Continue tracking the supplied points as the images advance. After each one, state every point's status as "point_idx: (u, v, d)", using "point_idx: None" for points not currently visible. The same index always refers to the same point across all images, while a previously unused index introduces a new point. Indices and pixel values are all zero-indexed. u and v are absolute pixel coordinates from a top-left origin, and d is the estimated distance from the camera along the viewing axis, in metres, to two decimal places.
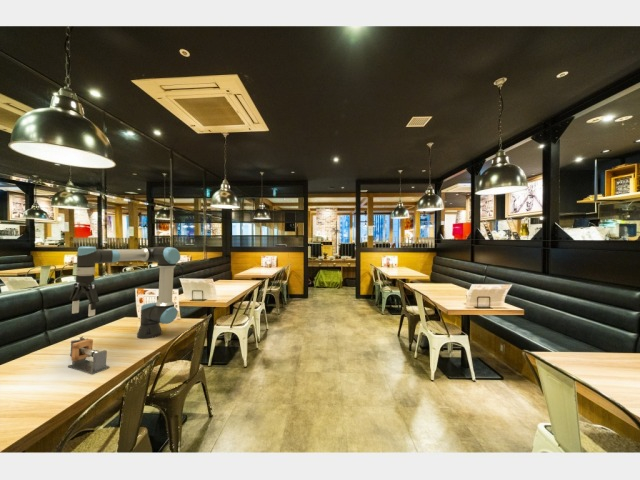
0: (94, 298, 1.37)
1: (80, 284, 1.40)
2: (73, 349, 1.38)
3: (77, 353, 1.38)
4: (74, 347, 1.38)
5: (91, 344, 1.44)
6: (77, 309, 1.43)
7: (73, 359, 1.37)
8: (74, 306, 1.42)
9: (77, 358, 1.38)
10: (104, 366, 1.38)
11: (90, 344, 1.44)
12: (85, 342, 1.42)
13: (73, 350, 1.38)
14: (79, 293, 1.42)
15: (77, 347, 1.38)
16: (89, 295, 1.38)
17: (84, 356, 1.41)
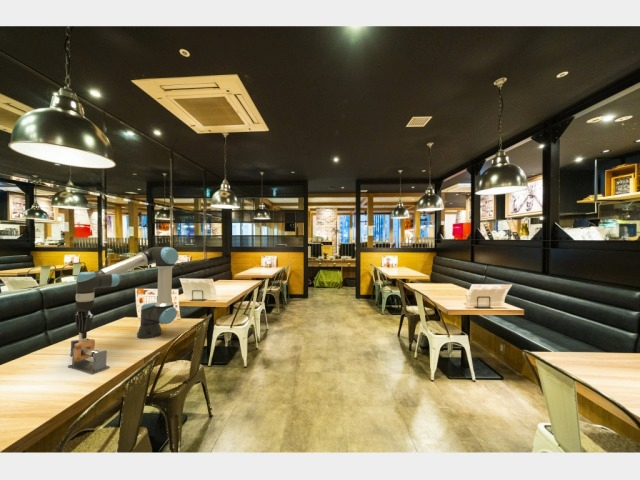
0: (86, 328, 1.40)
1: (79, 308, 1.42)
2: (75, 350, 1.37)
3: (79, 354, 1.38)
4: (76, 347, 1.37)
5: (93, 344, 1.44)
6: (84, 340, 1.42)
7: (75, 360, 1.37)
8: None
9: (79, 359, 1.38)
10: (104, 366, 1.38)
11: (92, 344, 1.43)
12: (87, 342, 1.41)
13: (75, 351, 1.37)
14: None
15: (79, 347, 1.38)
16: (84, 323, 1.41)
17: (86, 357, 1.41)
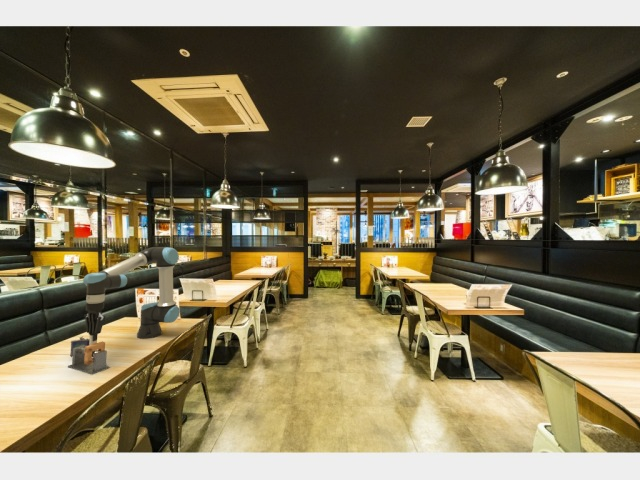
0: (97, 330, 1.37)
1: (89, 310, 1.39)
2: (86, 352, 1.34)
3: (90, 357, 1.35)
4: (87, 350, 1.34)
5: (103, 347, 1.41)
6: (94, 343, 1.39)
7: (86, 362, 1.34)
8: None
9: (90, 361, 1.35)
10: (104, 366, 1.38)
11: (103, 347, 1.40)
12: (98, 345, 1.38)
13: (86, 353, 1.34)
14: None
15: (90, 350, 1.35)
16: (94, 326, 1.38)
17: None
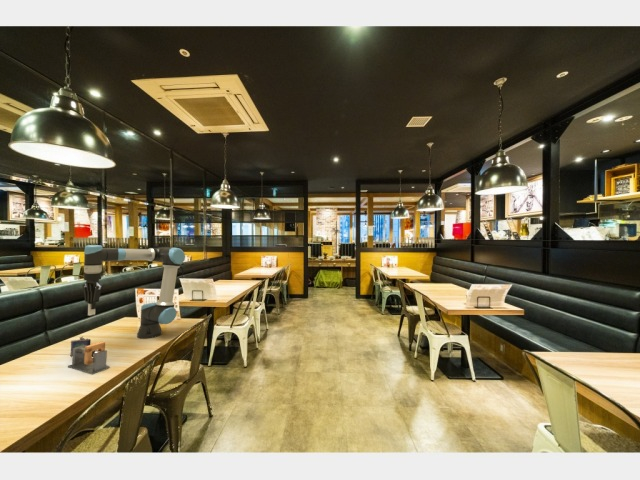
0: (95, 299, 1.44)
1: (87, 280, 1.46)
2: (86, 352, 1.34)
3: (90, 357, 1.35)
4: (87, 350, 1.34)
5: (104, 347, 1.41)
6: None
7: (86, 362, 1.34)
8: None
9: (90, 361, 1.35)
10: (104, 366, 1.38)
11: (103, 347, 1.40)
12: (98, 345, 1.38)
13: (86, 353, 1.34)
14: None
15: (90, 350, 1.35)
16: (92, 295, 1.45)
17: None
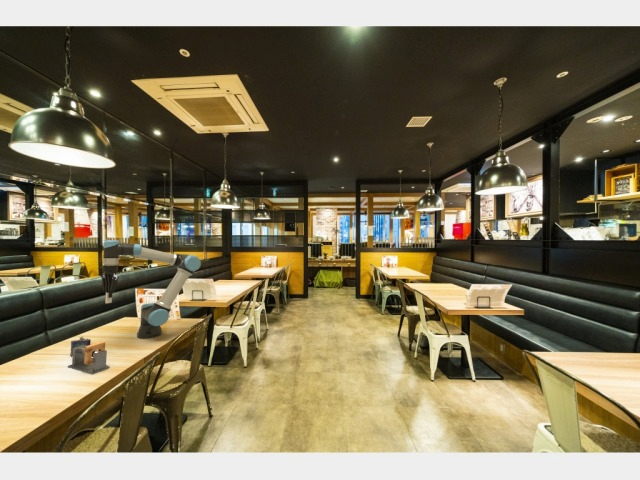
0: (112, 288, 1.61)
1: None
2: (86, 352, 1.34)
3: (90, 357, 1.35)
4: (87, 350, 1.34)
5: (104, 347, 1.41)
6: None
7: (86, 362, 1.34)
8: None
9: (90, 361, 1.35)
10: (104, 366, 1.38)
11: (103, 347, 1.40)
12: (98, 345, 1.38)
13: (86, 353, 1.34)
14: None
15: (90, 350, 1.35)
16: (110, 284, 1.61)
17: None
